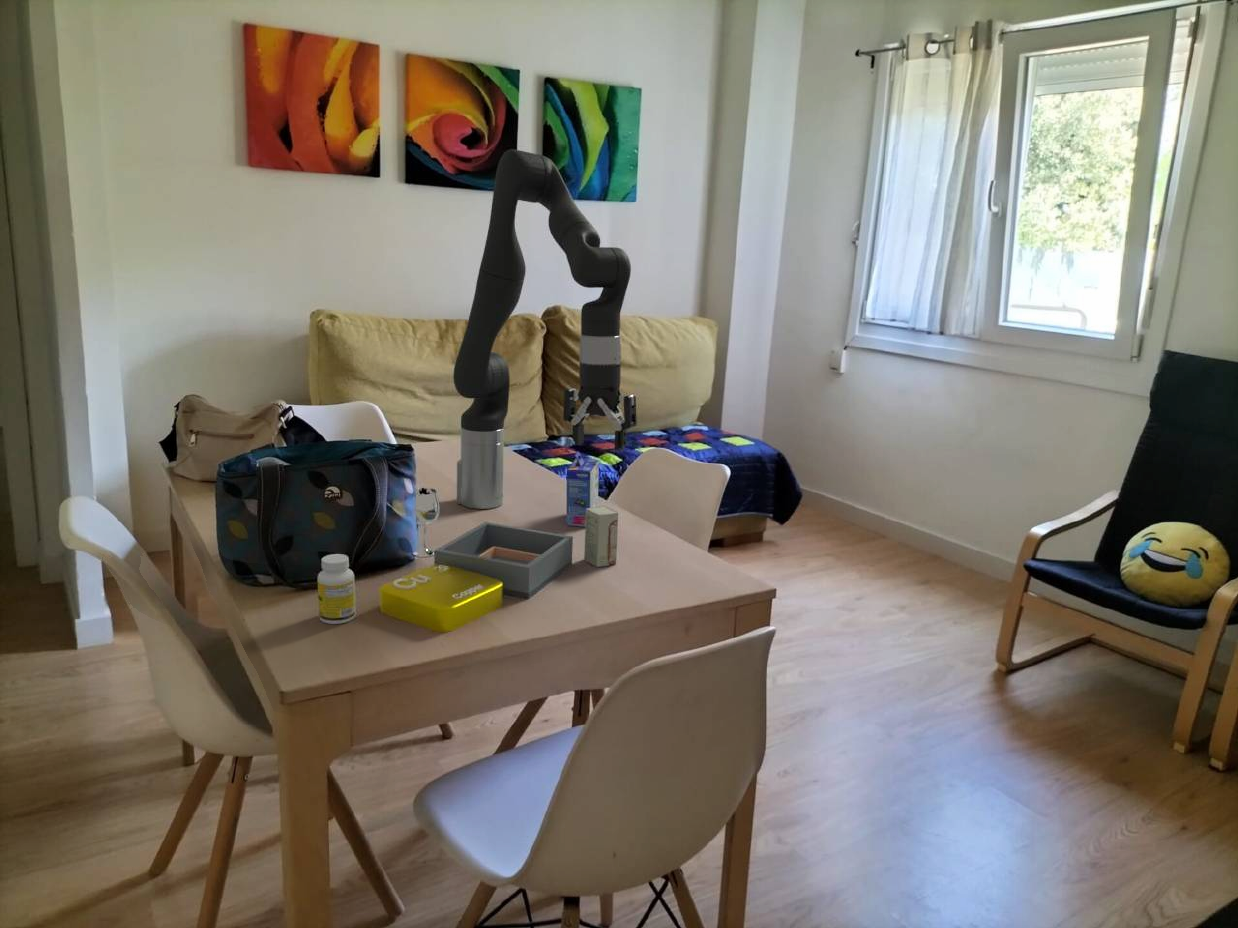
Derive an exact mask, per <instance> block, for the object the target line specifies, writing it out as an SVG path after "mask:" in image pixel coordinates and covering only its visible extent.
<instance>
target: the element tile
mask: <svg viewBox="0 0 1238 928" xmlns="http://www.w3.org/2000/svg"><path fill="white" fill-rule="evenodd" d="M503 604H504V594H503V583H502V582H501V581H500V580H498V579H494V578H491V577H488V576H484V575H481V574H477V573H474V572H471V571H467V570H464V569H461V568H457V567H454V566H451V565H447V564H443V563H438V564H432V565H429V566H426V567H424V568H421V569H419V570H417V571H414V572H411V573H409V574H405V575H404V576H401V577H399V578H396V579H394V580H390V581H389V582H387V583H386V582H385V583H383V584H382V585H381V586H379V611H380V612H381V613H383V614H385V615H387V616H390V617H394V618H396V619H399V620H401V621H402V620H403V621H404V622H408V623H411V624H413V625H417V626H419V627H422V628H425V629H428V630H431V631H433V632H437V633H449V632H453V631H456V630H457V629H459V628H461V627H464V626H466V625H468V624H469V623H471V622H474V621H475V620H478V619H480V618H481V617H484V616H487V615H488V614H491V613H492V612H495V611H496V610H498V609H500V608H502V607H503Z"/></svg>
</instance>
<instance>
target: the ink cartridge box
mask: <svg viewBox="0 0 1238 928" xmlns="http://www.w3.org/2000/svg"><path fill="white" fill-rule="evenodd" d="M574 457H575V459H574V461H573V462H572V463H571V464H570V465H569V467H568V468H567V470H566V526H572V527H573V526H574V527H581V528H582V527H583V528H585V521H586V508H595V507H599V465H600V463H599V460H598V459H585V458H583V457H582V455H581V453H580V452H579V451H576V453H575V454H574Z"/></svg>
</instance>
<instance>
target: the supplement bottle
mask: <svg viewBox="0 0 1238 928" xmlns="http://www.w3.org/2000/svg"><path fill="white" fill-rule="evenodd" d="M349 567H350V561H349V556H348V555H346V554H344V553H343V554H341V553H335V554H333V553H332V554H327V555H325V556H323V557H322V558H321V569H322V570H321V571H320V572H319V573H318V574H317V595H318V596H317V598H318V613H319V619H320V621H322V622H323V623H325V624H329V625H337V624H338V625H341V624H345V623H349V622H351V621H352V620H354V619H355V617H356V588H355V586H356V585H355V573H354V572H353V570H352V569H350V568H349Z"/></svg>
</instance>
